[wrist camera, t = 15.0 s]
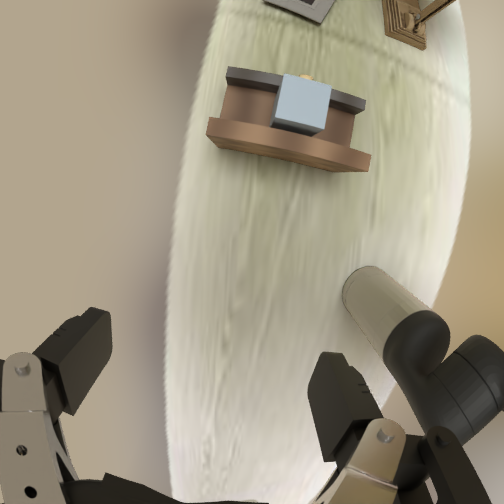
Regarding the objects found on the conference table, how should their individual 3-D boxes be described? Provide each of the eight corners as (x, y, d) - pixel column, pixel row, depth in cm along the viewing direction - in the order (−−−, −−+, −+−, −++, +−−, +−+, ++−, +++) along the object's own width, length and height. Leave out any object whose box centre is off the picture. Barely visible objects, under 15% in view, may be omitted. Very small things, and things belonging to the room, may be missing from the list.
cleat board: (345, 112, 38) (380, 91, 26) (334, 172, 41) (368, 171, 28) (231, 86, 37) (225, 52, 25) (218, 147, 40) (205, 134, 27)
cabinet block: (312, 101, 33) (333, 78, 24) (304, 141, 35) (324, 129, 25) (276, 92, 33) (285, 65, 23) (267, 132, 35) (275, 117, 25)
